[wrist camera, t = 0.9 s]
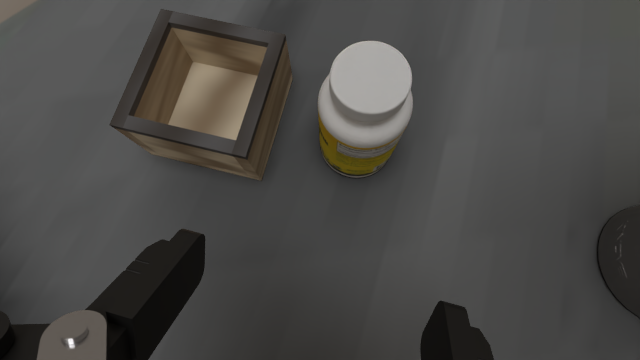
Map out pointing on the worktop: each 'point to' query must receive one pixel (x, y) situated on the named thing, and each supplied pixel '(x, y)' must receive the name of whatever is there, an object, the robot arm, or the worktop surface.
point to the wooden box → (207, 93)
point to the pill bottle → (364, 108)
